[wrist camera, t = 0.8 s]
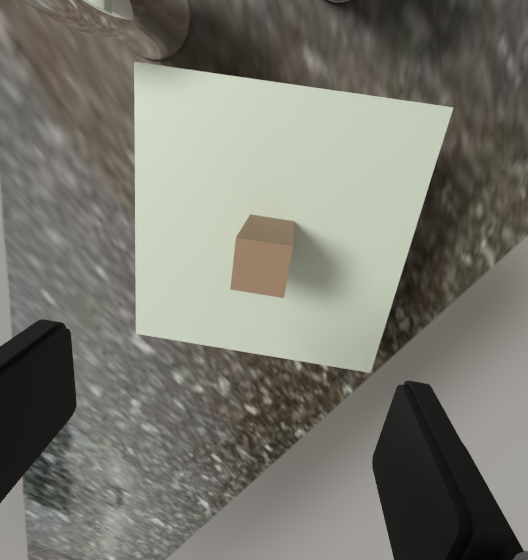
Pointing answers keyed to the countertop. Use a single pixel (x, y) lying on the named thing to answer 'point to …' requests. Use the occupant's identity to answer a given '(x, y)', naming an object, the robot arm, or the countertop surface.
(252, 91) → the lid
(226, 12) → the countertop surface
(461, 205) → the countertop surface
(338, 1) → the energy drink
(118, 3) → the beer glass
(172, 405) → the countertop surface
